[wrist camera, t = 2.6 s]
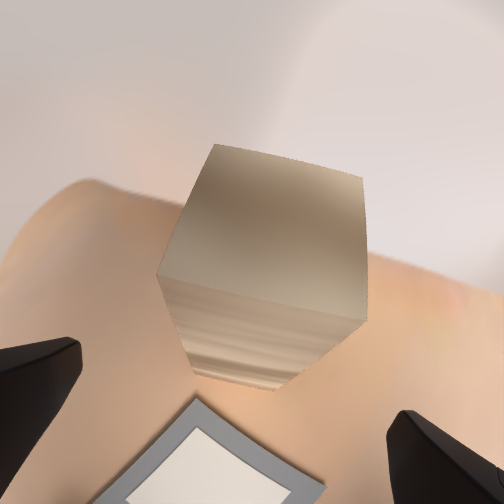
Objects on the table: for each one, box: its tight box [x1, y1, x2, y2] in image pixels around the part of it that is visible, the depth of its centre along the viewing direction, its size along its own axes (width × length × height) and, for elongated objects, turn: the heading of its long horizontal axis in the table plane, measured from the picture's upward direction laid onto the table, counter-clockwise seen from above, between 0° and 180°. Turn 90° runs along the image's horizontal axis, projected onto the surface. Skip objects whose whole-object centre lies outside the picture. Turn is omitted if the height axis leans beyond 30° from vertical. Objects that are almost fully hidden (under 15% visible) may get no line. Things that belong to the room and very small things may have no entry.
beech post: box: [156, 144, 368, 391], centre depth 13 cm, size 5×5×13 cm
